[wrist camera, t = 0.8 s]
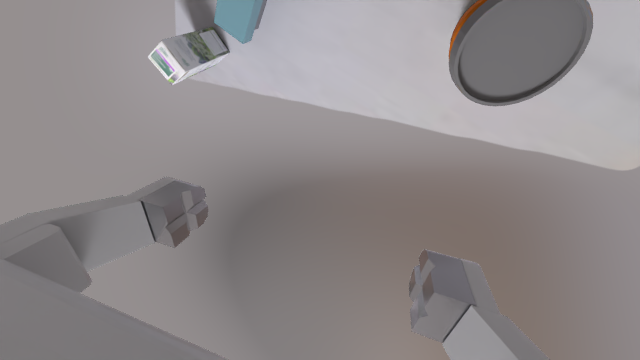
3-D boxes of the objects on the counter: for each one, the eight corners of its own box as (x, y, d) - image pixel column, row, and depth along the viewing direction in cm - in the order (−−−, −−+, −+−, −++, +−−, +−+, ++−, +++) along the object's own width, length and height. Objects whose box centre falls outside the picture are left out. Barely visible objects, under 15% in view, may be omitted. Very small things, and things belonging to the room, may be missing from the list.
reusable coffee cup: (452, -17, 34) (469, -10, 23) (558, -30, 30) (635, -30, 20) (434, 72, 42) (440, 107, 31) (515, 71, 38) (553, 109, 28)
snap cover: (236, -45, 36) (225, -46, 34) (268, -18, 37) (259, -18, 35) (223, 19, 43) (213, 22, 41) (251, 40, 44) (242, 43, 42)
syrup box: (198, 40, 51) (145, 57, 41) (213, 25, 48) (159, 40, 38) (216, 64, 54) (170, 86, 44) (231, 52, 51) (185, 72, 41)
